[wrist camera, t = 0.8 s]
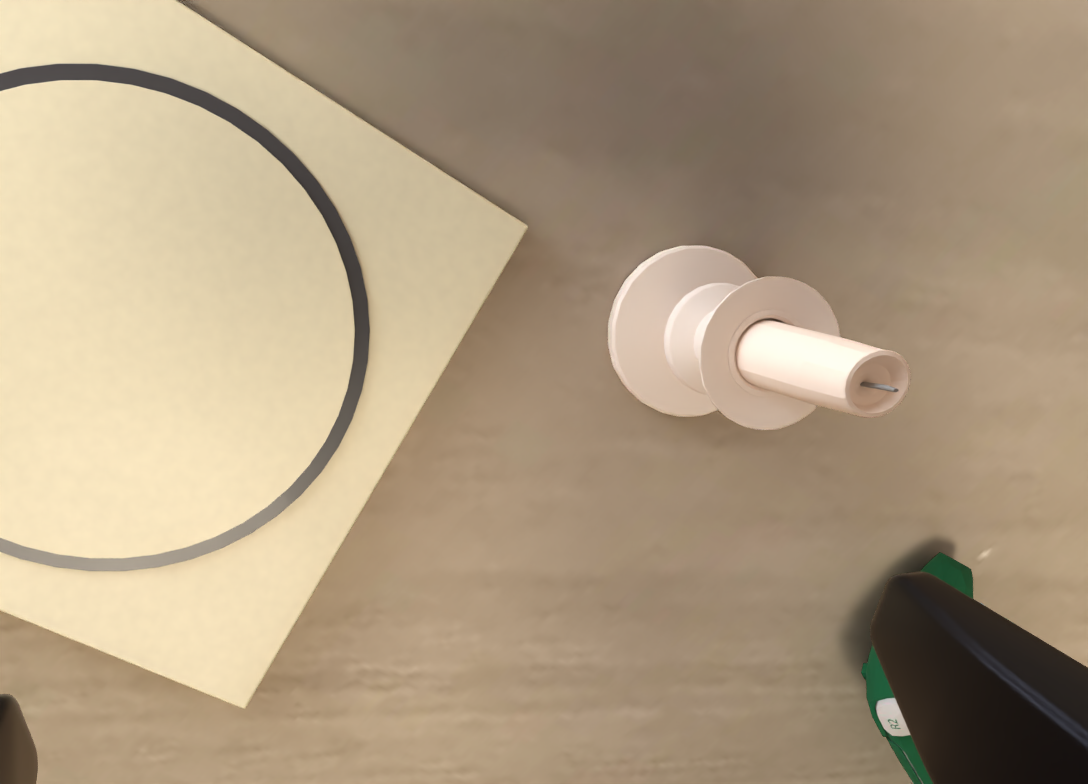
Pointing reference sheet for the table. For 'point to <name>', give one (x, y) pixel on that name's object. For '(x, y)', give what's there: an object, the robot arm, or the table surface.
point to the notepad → (204, 331)
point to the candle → (741, 345)
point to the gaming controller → (880, 690)
